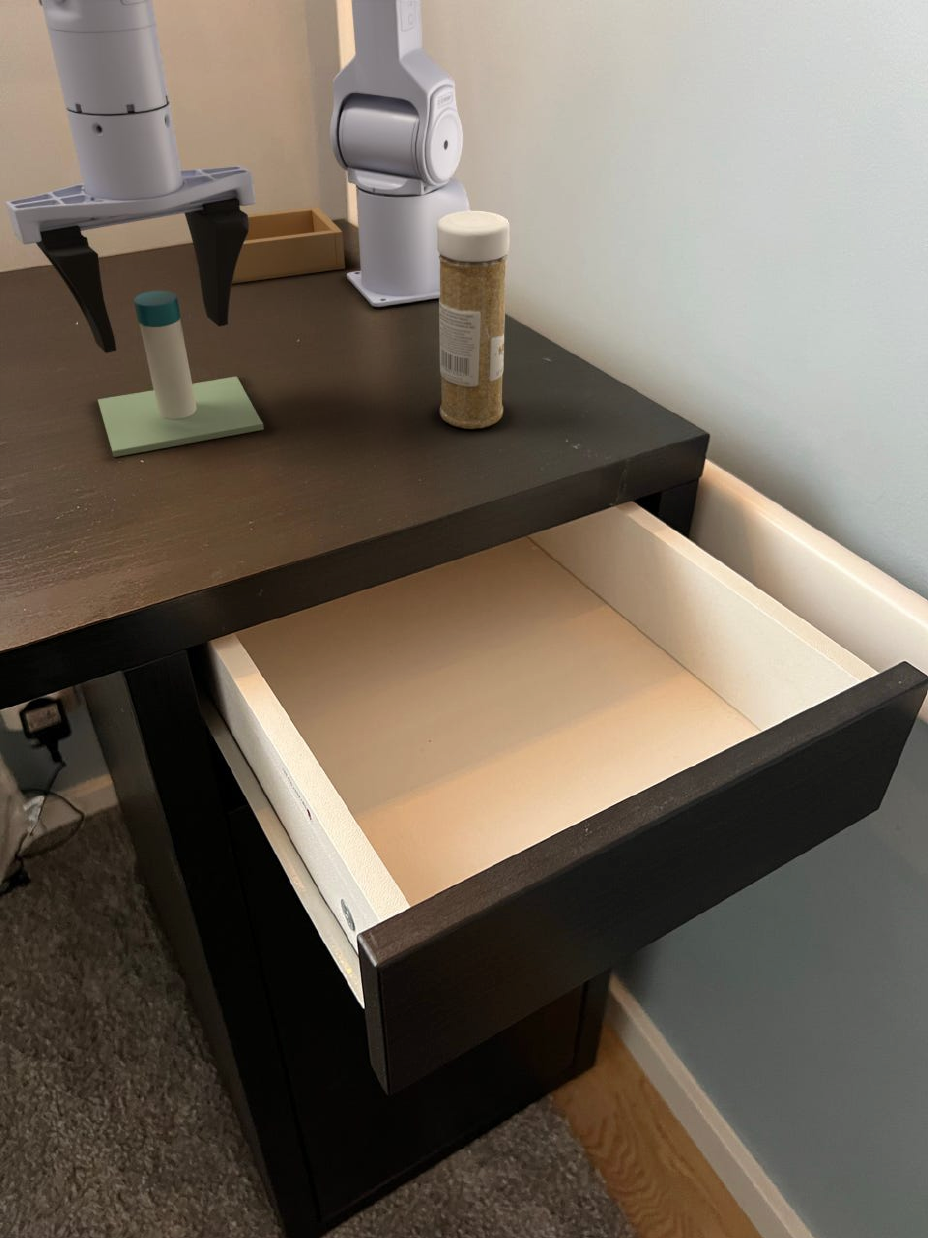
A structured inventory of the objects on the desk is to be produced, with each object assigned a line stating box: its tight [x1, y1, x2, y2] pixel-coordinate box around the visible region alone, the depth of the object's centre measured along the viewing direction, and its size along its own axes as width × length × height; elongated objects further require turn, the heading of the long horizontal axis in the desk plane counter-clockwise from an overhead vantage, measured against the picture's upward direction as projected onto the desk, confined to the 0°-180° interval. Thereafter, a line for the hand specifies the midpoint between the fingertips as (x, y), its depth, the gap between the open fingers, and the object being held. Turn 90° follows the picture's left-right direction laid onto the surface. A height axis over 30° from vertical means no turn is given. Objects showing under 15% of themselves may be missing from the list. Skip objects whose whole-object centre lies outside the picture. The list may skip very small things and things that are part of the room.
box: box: [232, 206, 346, 284], centre depth 91 cm, size 12×8×3 cm
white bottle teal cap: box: [133, 290, 197, 419], centre depth 65 cm, size 3×3×8 cm
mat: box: [97, 376, 264, 458], centre depth 67 cm, size 10×8×1 cm
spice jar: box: [437, 210, 511, 430], centre depth 64 cm, size 5×5×14 cm
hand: (163, 333), depth 63 cm, fingers open, 7 cm apart
